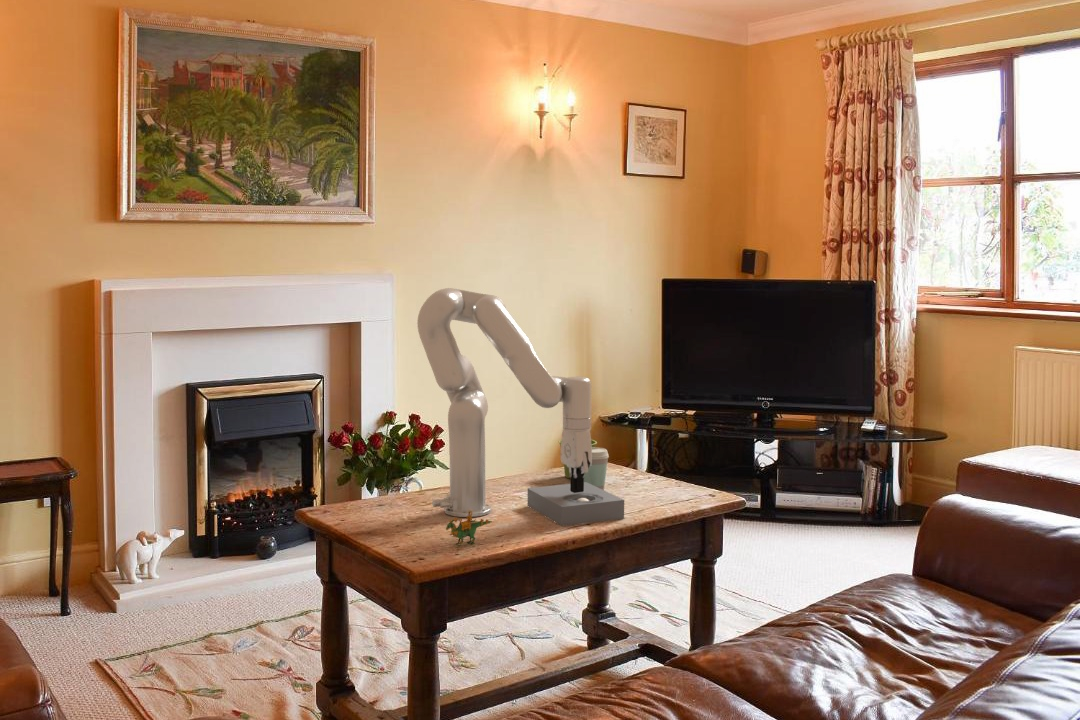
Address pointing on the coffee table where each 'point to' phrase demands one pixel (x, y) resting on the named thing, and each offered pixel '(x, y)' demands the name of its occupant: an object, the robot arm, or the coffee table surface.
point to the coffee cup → (597, 468)
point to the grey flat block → (575, 504)
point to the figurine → (465, 528)
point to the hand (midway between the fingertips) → (577, 491)
